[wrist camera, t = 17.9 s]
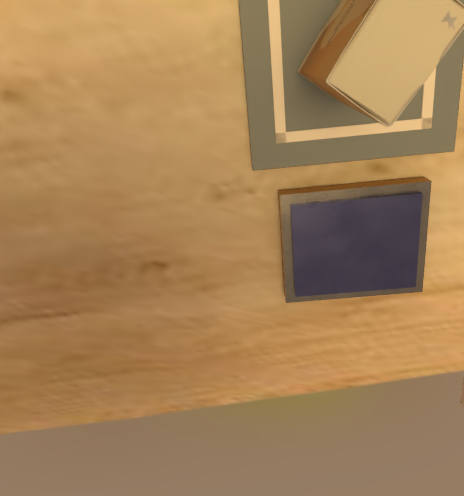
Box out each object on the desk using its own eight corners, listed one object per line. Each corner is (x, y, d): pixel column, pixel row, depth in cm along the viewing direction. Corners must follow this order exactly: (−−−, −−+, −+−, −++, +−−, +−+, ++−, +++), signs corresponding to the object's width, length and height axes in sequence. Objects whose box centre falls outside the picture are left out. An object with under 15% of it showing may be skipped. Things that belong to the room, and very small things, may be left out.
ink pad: (284, 294, 40) (286, 305, 39) (278, 190, 37) (280, 196, 35) (415, 283, 40) (424, 294, 38) (423, 176, 36) (433, 182, 34)
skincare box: (344, -10, 30) (408, -53, 19) (393, 26, 31) (482, 6, 20) (292, 75, 32) (321, 82, 21) (339, 107, 33) (391, 130, 22)
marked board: (252, 168, 36) (252, 171, 35) (233, -64, 30) (233, -67, 29) (450, 149, 35) (455, 151, 34) (474, -93, 29) (480, -97, 28)
